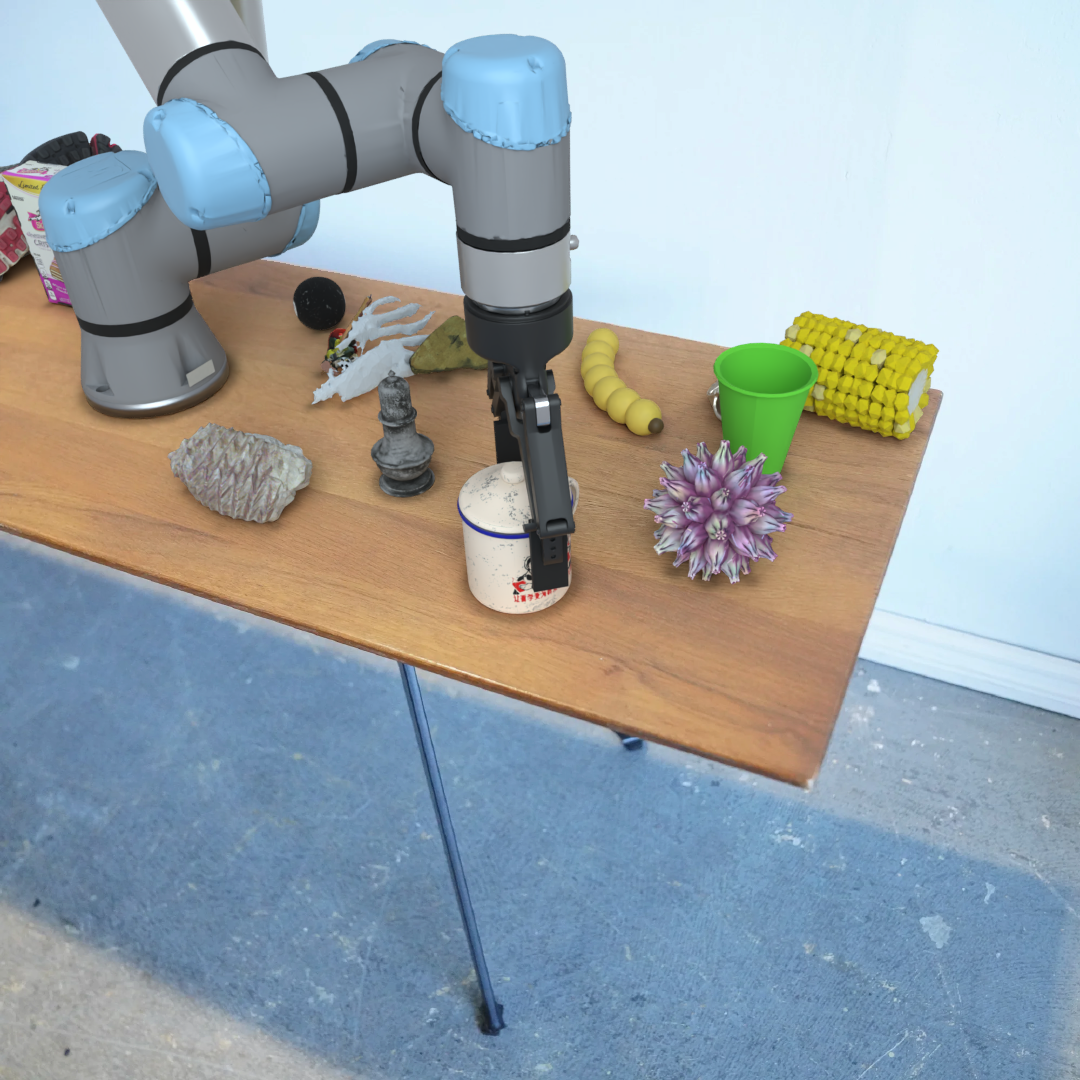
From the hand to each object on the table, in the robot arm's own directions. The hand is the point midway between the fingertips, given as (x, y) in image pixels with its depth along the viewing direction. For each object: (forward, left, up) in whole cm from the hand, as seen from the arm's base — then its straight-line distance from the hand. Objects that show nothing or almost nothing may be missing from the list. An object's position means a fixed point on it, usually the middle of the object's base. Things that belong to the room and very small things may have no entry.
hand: (531, 532), depth 82 cm
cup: (-9, +23, -5) cm, 25 cm away
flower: (+3, +15, -5) cm, 16 cm away
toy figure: (-36, -12, 0) cm, 38 cm away
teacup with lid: (0, 0, -5) cm, 5 cm away
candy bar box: (-63, -42, -5) cm, 76 cm away
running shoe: (-75, -52, +5) cm, 92 cm away
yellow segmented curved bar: (-25, +14, -4) cm, 29 cm away
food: (-11, +32, 0) cm, 34 cm away
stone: (-34, -1, -5) cm, 34 cm away
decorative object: (-36, -6, -5) cm, 37 cm away
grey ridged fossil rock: (-18, -23, -5) cm, 30 cm away
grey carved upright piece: (-16, -9, -5) cm, 19 cm away
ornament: (-19, +26, -4) cm, 33 cm away
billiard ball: (-49, -15, -5) cm, 51 cm away
